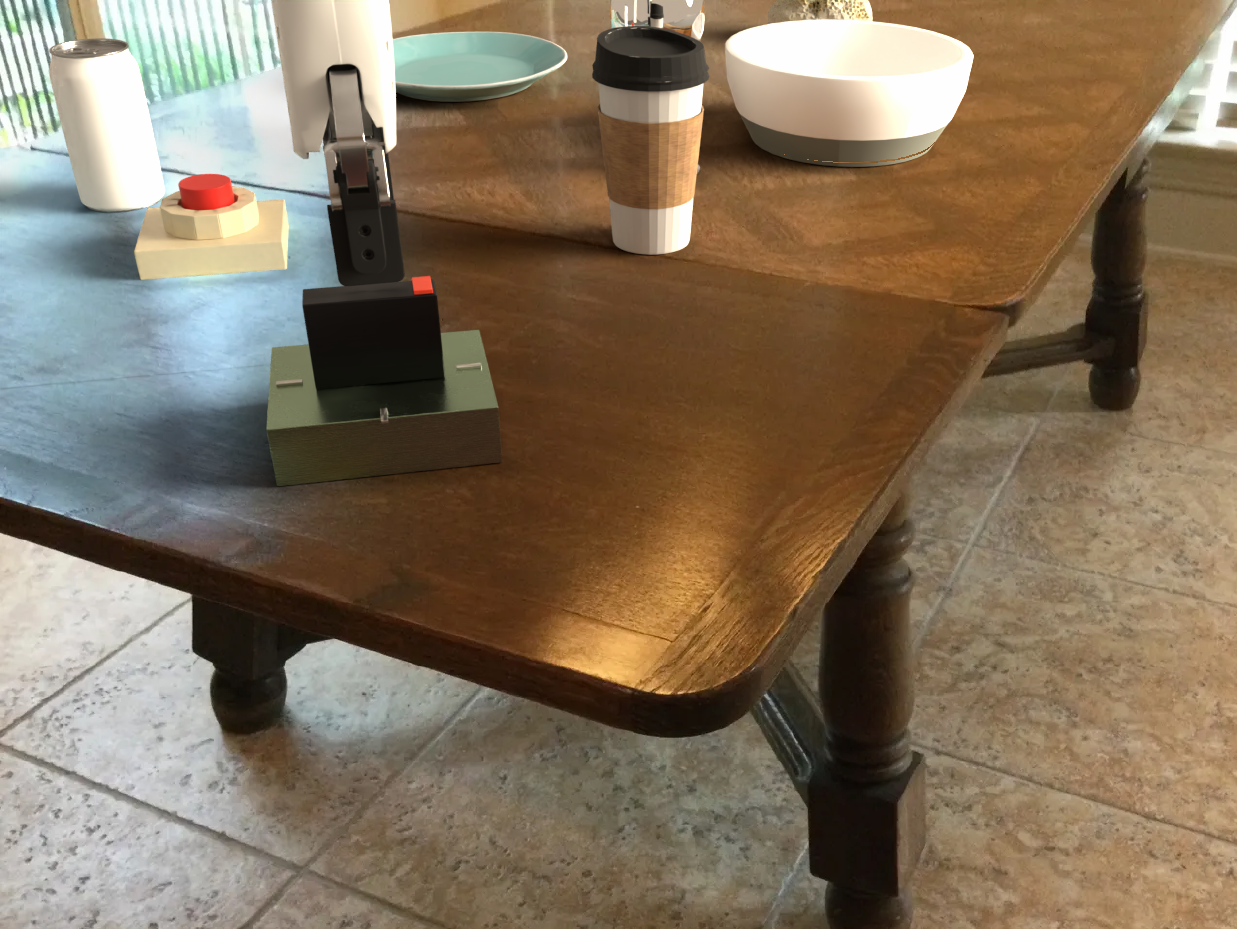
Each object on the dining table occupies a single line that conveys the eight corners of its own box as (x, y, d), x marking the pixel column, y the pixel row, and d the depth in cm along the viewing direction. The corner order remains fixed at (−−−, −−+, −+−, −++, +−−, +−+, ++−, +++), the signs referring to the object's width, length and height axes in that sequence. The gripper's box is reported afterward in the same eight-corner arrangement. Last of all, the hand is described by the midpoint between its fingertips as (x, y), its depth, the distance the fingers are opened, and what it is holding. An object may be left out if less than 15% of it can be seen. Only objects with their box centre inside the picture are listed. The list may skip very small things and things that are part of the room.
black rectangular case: (315, 389, 71) (301, 300, 68) (315, 372, 73) (301, 284, 70) (445, 377, 73) (436, 290, 70) (442, 360, 74) (433, 274, 72)
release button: (180, 215, 93) (175, 191, 92) (185, 198, 96) (180, 175, 95) (233, 212, 94) (229, 188, 93) (236, 195, 97) (231, 172, 96)
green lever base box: (276, 492, 69) (265, 432, 67) (281, 396, 78) (271, 340, 76) (503, 468, 71) (499, 409, 69) (482, 377, 81) (478, 322, 79)
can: (149, 215, 103) (115, 58, 96) (67, 213, 103) (27, 56, 96) (178, 188, 108) (147, 37, 102) (100, 186, 108) (64, 36, 102)
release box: (140, 280, 92) (127, 226, 90) (153, 235, 99) (141, 184, 97) (287, 270, 94) (278, 216, 92) (289, 226, 101) (280, 175, 99)
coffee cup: (653, 213, 105) (653, 18, 97) (728, 242, 100) (734, 39, 92) (573, 239, 100) (566, 35, 92) (648, 270, 95) (647, 58, 87)
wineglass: (703, 158, 117) (708, -85, 106) (701, 187, 111) (705, -69, 100) (616, 156, 117) (612, -87, 106) (609, 184, 111) (603, -71, 100)
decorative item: (867, -7, 158) (883, -29, 148) (856, 68, 160) (872, 51, 150) (769, -22, 157) (779, -45, 148) (759, 53, 159) (768, 36, 149)
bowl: (876, 95, 135) (884, 11, 131) (1011, 158, 119) (1026, 63, 114) (681, 120, 127) (682, 30, 122) (798, 191, 110) (804, 90, 106)
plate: (397, 124, 124) (393, 94, 123) (326, 70, 140) (323, 43, 139) (605, 95, 134) (604, 67, 132) (516, 48, 150) (515, 22, 148)
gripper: (241, -134, 66) (297, 197, 75) (221, -80, 52) (293, 320, 61) (393, -138, 67) (429, 188, 76) (414, -86, 53) (455, 305, 62)
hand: (369, 246), depth 69 cm, fingers open, 9 cm apart
